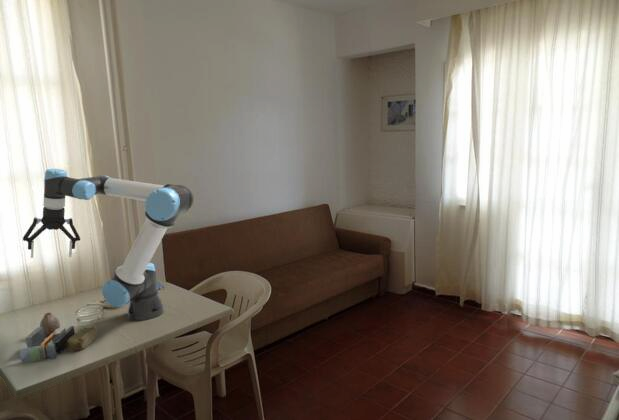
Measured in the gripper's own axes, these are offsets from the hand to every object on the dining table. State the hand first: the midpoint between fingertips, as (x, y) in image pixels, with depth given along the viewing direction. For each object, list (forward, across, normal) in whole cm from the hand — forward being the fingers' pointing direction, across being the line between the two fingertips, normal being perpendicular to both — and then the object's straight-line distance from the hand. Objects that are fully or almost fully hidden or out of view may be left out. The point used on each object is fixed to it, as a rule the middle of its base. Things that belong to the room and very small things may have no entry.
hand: (51, 256), depth 178 cm
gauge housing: (+27, +1, +29) cm, 40 cm away
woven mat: (+27, -47, -18) cm, 57 cm away
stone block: (+25, -11, +31) cm, 41 cm away
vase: (+29, -1, +12) cm, 32 cm away
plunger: (+25, -3, +30) cm, 39 cm away
